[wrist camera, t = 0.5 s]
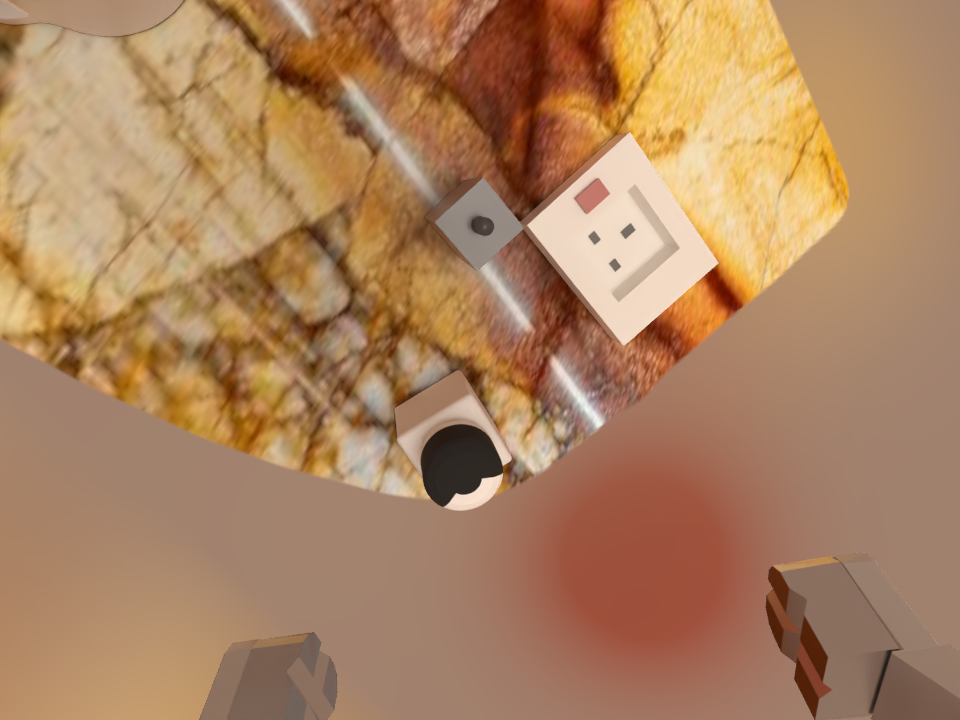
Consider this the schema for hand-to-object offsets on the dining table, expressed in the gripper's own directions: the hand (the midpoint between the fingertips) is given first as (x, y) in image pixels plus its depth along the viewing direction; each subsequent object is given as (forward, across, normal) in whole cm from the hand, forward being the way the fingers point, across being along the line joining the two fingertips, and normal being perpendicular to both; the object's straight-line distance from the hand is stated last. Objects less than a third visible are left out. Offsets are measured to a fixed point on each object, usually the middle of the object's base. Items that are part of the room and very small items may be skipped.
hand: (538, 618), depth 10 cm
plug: (+41, +3, +5) cm, 41 cm away
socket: (+42, -10, +10) cm, 45 cm away
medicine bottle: (+36, +8, +22) cm, 43 cm away
